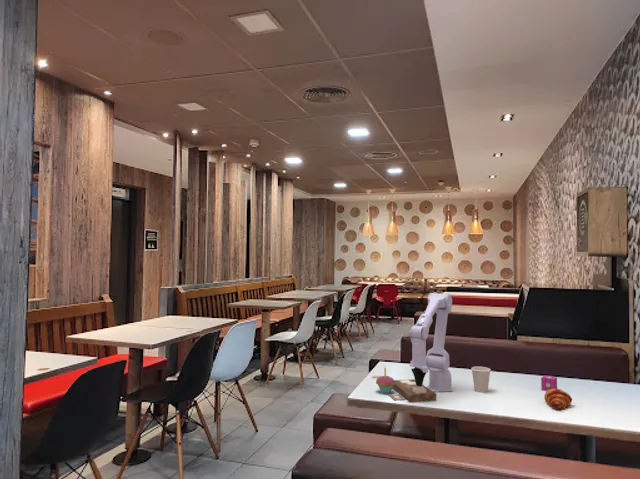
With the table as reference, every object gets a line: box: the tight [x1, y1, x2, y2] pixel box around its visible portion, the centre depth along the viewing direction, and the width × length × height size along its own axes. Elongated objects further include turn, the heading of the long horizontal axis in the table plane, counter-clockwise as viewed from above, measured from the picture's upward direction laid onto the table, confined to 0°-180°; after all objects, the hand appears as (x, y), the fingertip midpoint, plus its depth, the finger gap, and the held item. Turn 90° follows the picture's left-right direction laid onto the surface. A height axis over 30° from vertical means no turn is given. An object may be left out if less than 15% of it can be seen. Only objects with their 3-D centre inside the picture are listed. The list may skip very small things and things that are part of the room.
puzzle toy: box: [540, 375, 558, 392], centre depth 211 cm, size 6×6×6 cm
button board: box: [392, 378, 437, 403], centre depth 204 cm, size 12×24×3 cm, turn 11°
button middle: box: [406, 382, 419, 388], centre depth 204 cm, size 4×4×3 cm
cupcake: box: [375, 367, 395, 395], centre depth 206 cm, size 9×8×12 cm
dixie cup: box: [470, 366, 492, 393], centre depth 209 cm, size 8×8×10 cm
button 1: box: [398, 379, 410, 384], centre depth 212 cm, size 4×4×3 cm
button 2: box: [412, 387, 426, 394], centre depth 196 cm, size 4×4×3 cm
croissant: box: [543, 388, 573, 410], centre depth 190 cm, size 21×10×8 cm, turn 153°
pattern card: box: [387, 393, 407, 402], centre depth 197 cm, size 5×8×1 cm, turn 11°
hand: (419, 385), depth 196 cm, fingers closed
